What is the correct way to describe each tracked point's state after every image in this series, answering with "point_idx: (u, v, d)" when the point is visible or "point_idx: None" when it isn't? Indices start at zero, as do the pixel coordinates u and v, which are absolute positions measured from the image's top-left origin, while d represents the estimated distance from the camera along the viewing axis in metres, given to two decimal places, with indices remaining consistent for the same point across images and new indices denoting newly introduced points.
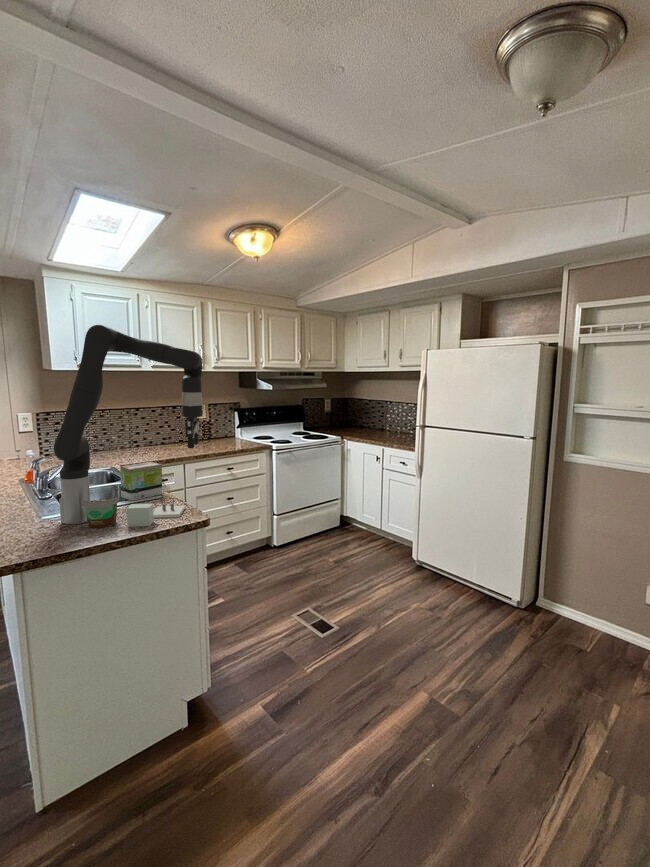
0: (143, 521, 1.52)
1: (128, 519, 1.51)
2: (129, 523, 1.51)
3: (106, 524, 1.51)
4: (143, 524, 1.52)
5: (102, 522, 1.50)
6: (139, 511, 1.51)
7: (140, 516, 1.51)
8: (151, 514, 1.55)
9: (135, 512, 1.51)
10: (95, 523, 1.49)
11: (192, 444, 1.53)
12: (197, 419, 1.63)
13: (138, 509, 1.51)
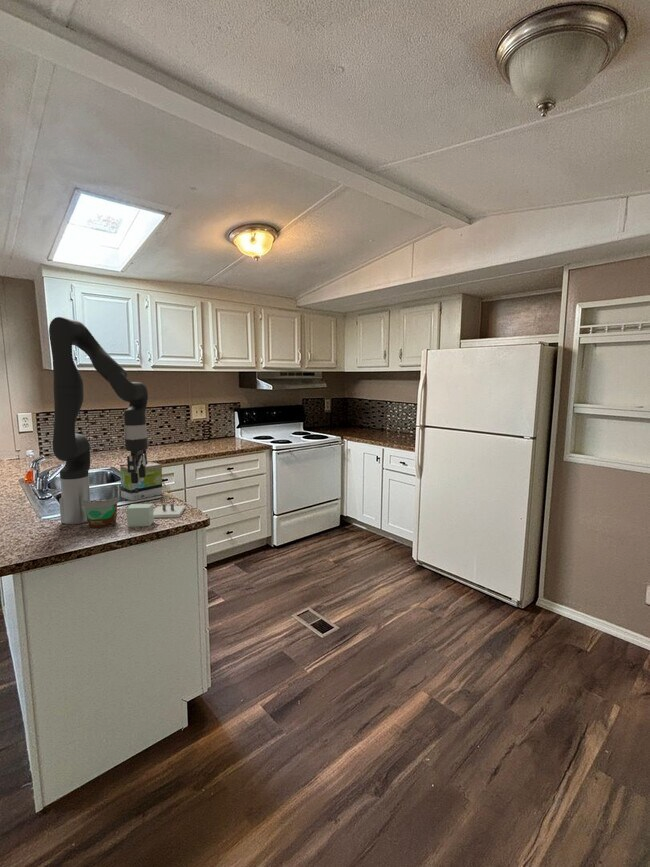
0: (143, 521, 1.52)
1: (128, 519, 1.51)
2: (129, 523, 1.51)
3: (106, 524, 1.51)
4: (143, 524, 1.52)
5: (102, 522, 1.50)
6: (139, 511, 1.51)
7: (140, 516, 1.51)
8: (151, 514, 1.55)
9: (135, 512, 1.51)
10: (95, 523, 1.49)
11: (136, 479, 1.47)
12: (144, 451, 1.56)
13: (138, 509, 1.51)
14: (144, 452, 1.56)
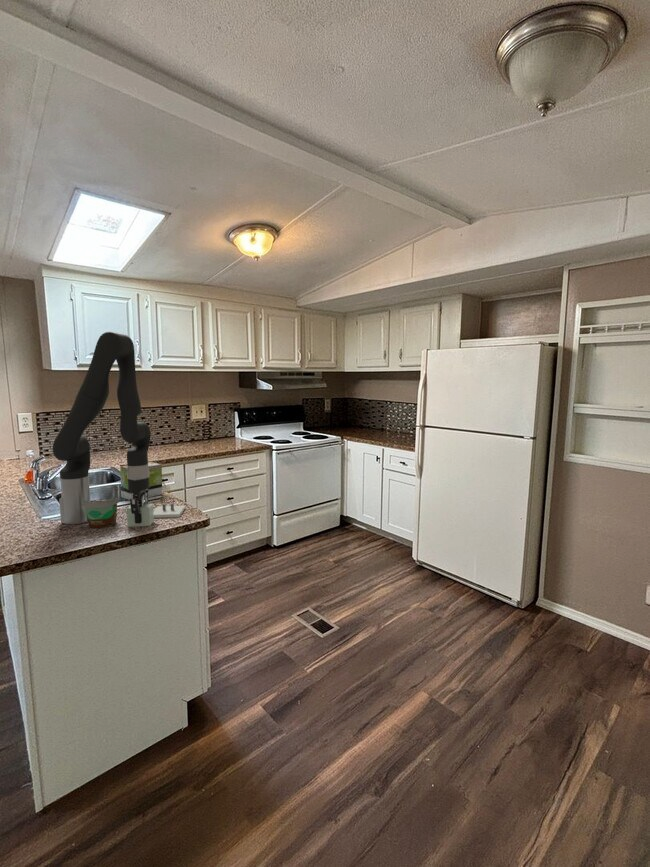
0: (143, 521, 1.52)
1: (128, 519, 1.51)
2: (129, 523, 1.51)
3: (106, 524, 1.51)
4: (143, 524, 1.52)
5: (102, 522, 1.50)
6: None
7: None
8: (151, 514, 1.55)
9: None
10: (95, 523, 1.49)
11: (139, 519, 1.51)
12: (146, 491, 1.58)
13: None
14: (146, 492, 1.58)
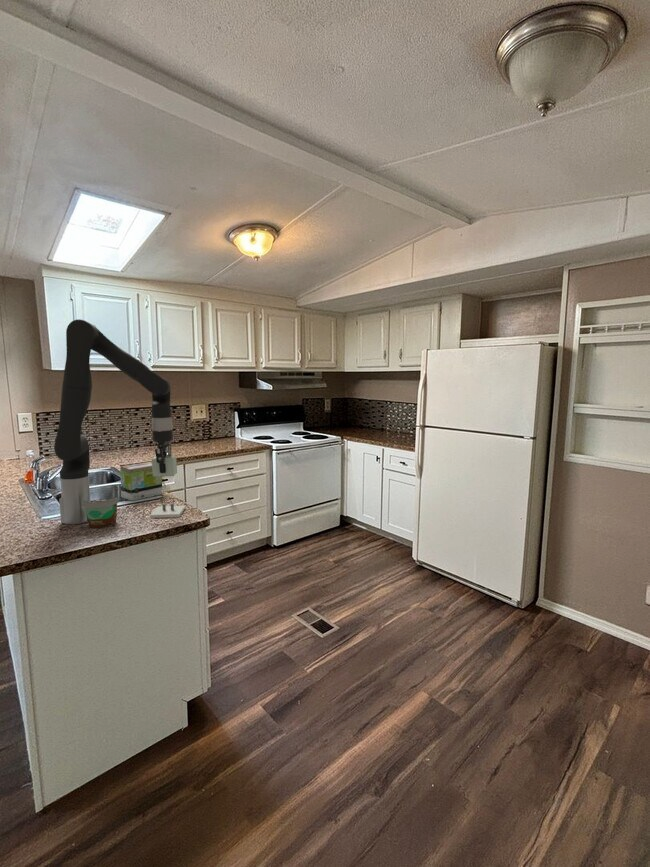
0: (167, 471, 1.61)
1: (153, 469, 1.60)
2: (154, 473, 1.60)
3: (106, 524, 1.51)
4: (167, 474, 1.61)
5: (102, 522, 1.50)
6: None
7: None
8: (175, 466, 1.63)
9: None
10: (95, 523, 1.49)
11: (164, 469, 1.59)
12: (169, 444, 1.67)
13: None
14: (169, 445, 1.67)
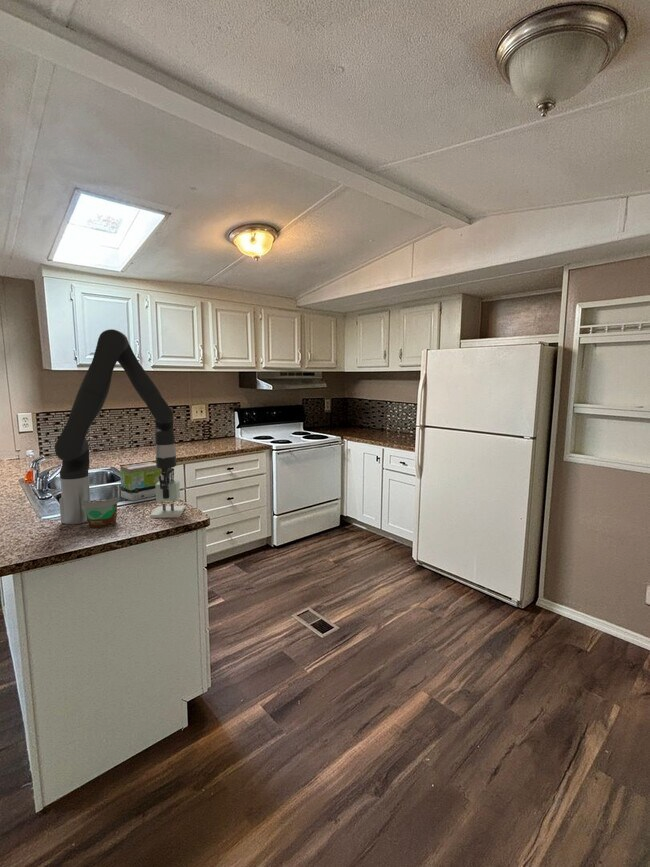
0: (170, 496, 1.64)
1: (157, 495, 1.63)
2: (158, 498, 1.63)
3: (106, 524, 1.51)
4: (171, 499, 1.64)
5: (102, 522, 1.50)
6: None
7: None
8: (178, 491, 1.67)
9: None
10: (95, 523, 1.49)
11: (167, 495, 1.62)
12: (172, 469, 1.70)
13: None
14: (172, 470, 1.70)
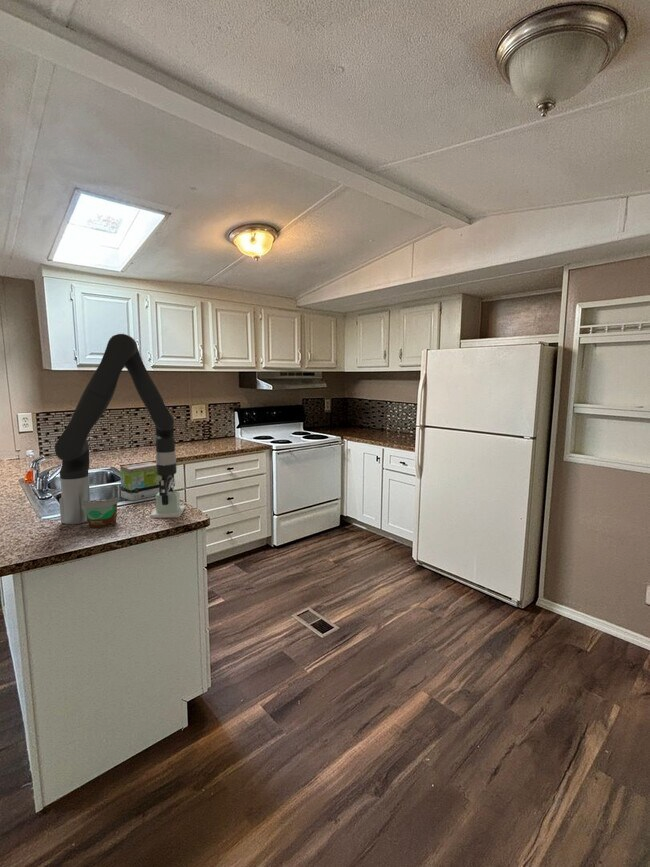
0: (170, 507, 1.64)
1: (157, 505, 1.63)
2: (158, 509, 1.64)
3: (106, 524, 1.51)
4: (171, 510, 1.64)
5: (102, 522, 1.50)
6: None
7: (168, 503, 1.64)
8: (178, 501, 1.67)
9: None
10: (95, 523, 1.49)
11: (166, 501, 1.61)
12: (172, 474, 1.71)
13: None
14: (172, 475, 1.71)
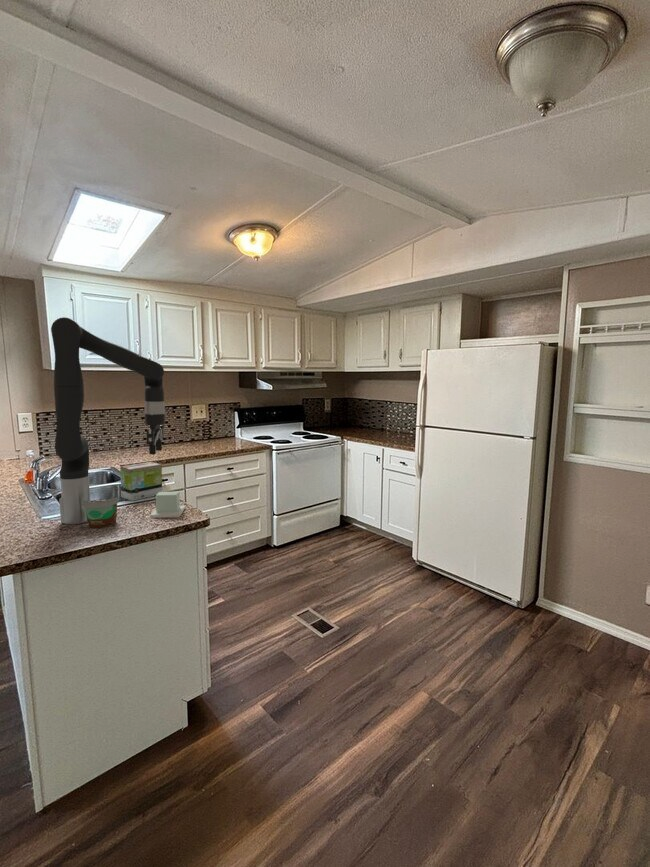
0: (170, 507, 1.64)
1: (157, 505, 1.63)
2: (158, 509, 1.64)
3: (106, 524, 1.51)
4: (171, 510, 1.64)
5: (102, 522, 1.50)
6: (167, 498, 1.63)
7: (168, 503, 1.64)
8: (178, 501, 1.67)
9: (163, 499, 1.63)
10: (95, 523, 1.49)
11: (153, 451, 1.62)
12: (161, 426, 1.71)
13: (166, 496, 1.63)
14: (161, 427, 1.71)
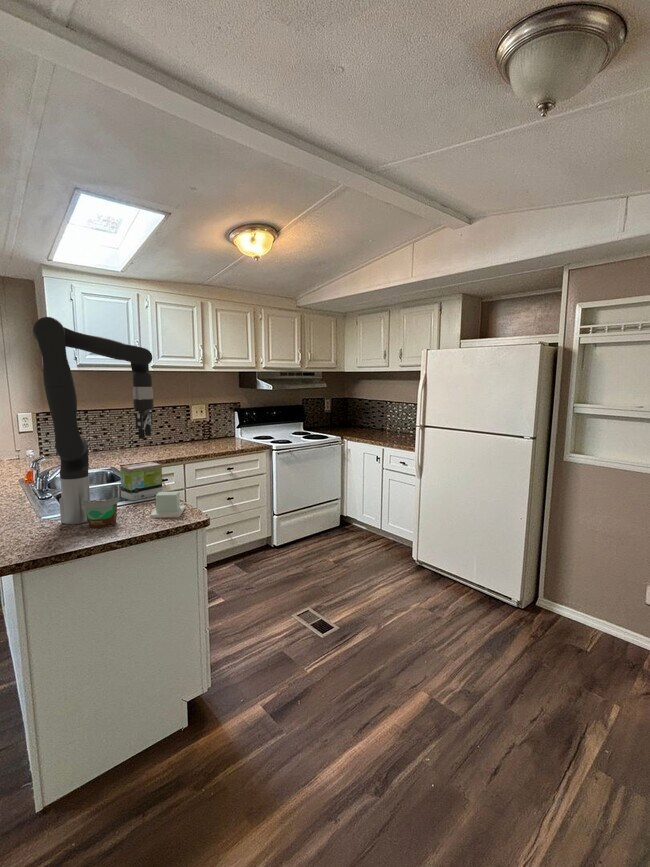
0: (170, 507, 1.64)
1: (157, 505, 1.63)
2: (158, 509, 1.64)
3: (106, 524, 1.51)
4: (171, 510, 1.64)
5: (102, 522, 1.50)
6: (167, 498, 1.63)
7: (168, 503, 1.64)
8: (178, 501, 1.67)
9: (163, 499, 1.63)
10: (95, 523, 1.49)
11: (143, 435, 1.64)
12: (150, 412, 1.74)
13: (166, 496, 1.63)
14: (150, 413, 1.74)
